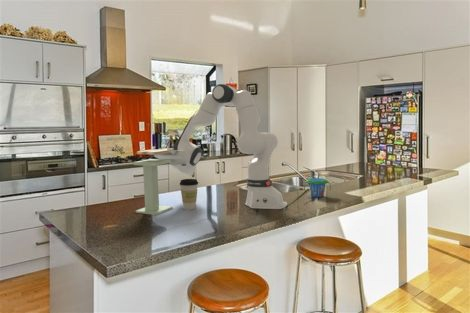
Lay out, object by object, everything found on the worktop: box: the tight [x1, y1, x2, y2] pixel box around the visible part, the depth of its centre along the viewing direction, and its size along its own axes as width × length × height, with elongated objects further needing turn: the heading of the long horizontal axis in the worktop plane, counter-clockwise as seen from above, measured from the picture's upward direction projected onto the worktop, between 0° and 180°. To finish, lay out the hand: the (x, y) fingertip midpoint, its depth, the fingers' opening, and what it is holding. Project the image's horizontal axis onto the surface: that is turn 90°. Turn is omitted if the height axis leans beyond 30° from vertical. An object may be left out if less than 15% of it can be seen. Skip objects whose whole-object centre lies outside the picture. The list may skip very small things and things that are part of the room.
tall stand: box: [132, 158, 174, 216], centre depth 193 cm, size 13×14×26 cm
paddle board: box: [136, 147, 174, 156], centre depth 197 cm, size 12×21×1 cm, turn 155°
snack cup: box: [303, 177, 332, 198], centre depth 221 cm, size 16×10×10 cm
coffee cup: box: [179, 178, 199, 211], centre depth 198 cm, size 10×10×15 cm
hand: (163, 149), depth 200 cm, fingers closed on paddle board, 4 cm apart
